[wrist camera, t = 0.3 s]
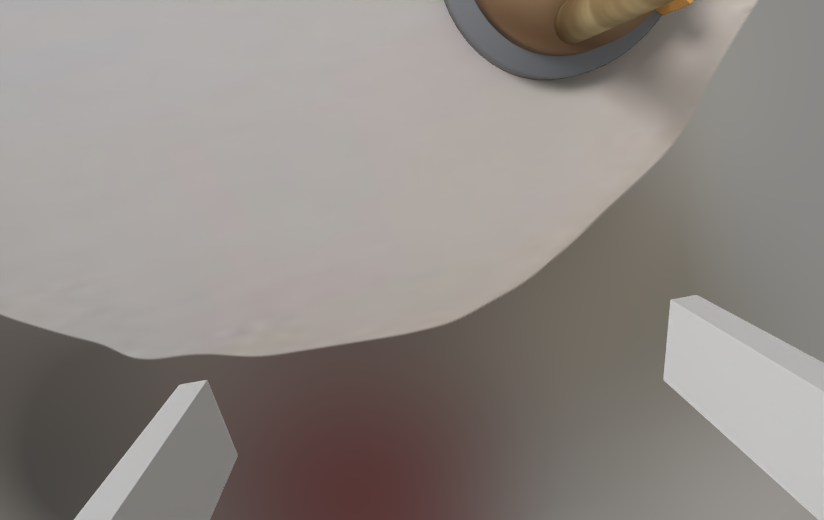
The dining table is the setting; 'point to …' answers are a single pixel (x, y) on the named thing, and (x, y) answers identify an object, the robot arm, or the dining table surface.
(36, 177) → the dining table surface
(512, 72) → the dial base
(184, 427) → the robot arm
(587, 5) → the dial
